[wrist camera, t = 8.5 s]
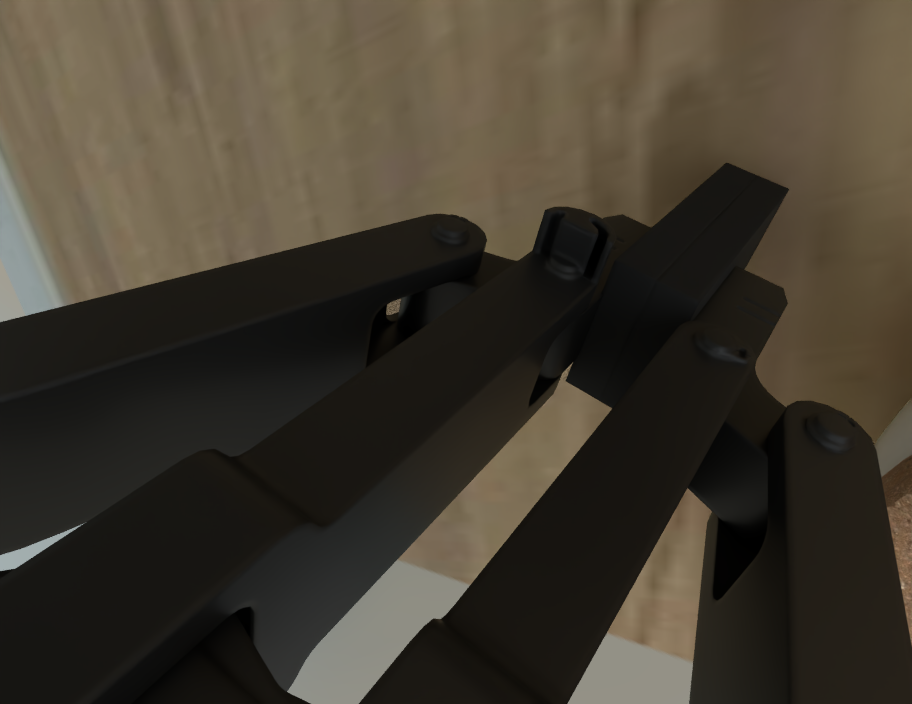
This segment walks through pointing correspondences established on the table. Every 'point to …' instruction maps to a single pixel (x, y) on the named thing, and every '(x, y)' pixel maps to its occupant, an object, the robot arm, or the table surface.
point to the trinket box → (899, 495)
